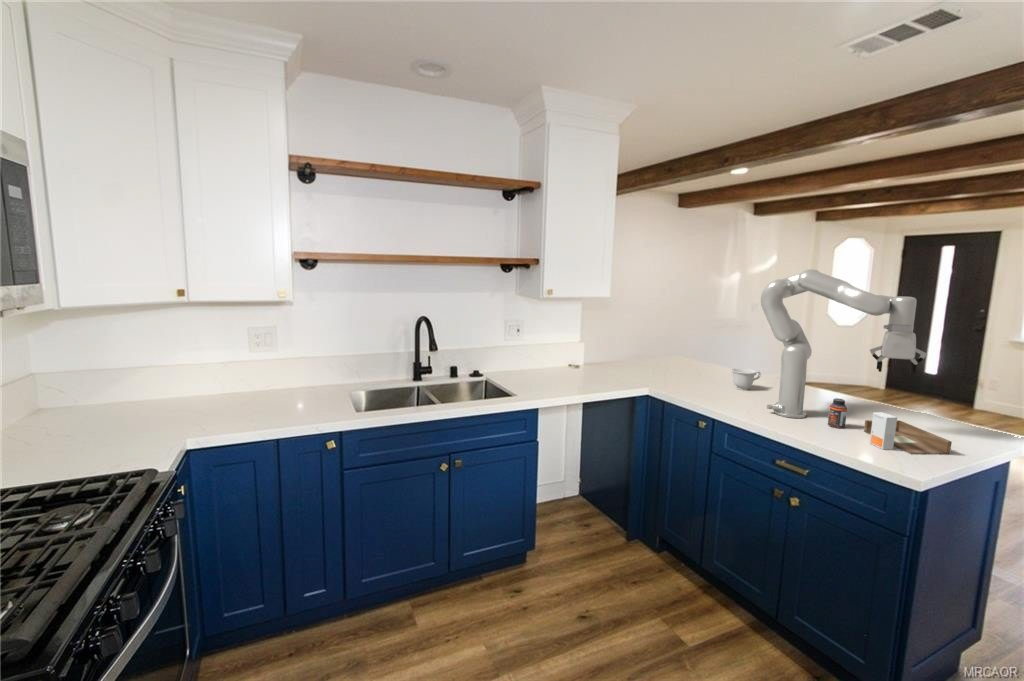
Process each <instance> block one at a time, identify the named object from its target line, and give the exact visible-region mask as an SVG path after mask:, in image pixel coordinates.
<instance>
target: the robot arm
mask: <svg viewBox="0 0 1024 681" xmlns="http://www.w3.org/2000/svg"><path fill="white" fill-rule="evenodd" d="M807 292H810V293H813V294H816V295H818V296H821V297H824V298H825V299H828V300H832V301H834V302H836V303H838V304H842V305H845V306H847V307H850V308H852V309H855V310H856V311H859V312H863V313H865V314H867V315H870V316H876V317H879V316H882V315H885V314H886V315H888V314H889V316H888V317H889V319H888V324H884V325H883V326H882V327H883V329H886V331H885V333H884V335H883V337H882V342H881V345H879V346H876V347H873V348H870V349H869V352H870V354H871V356H872V357H873V358H874V359H875V360H876V370H878V372H879V373H881V372H882V369H883V360H884V359H885V358H887V359H897V360H898V359H899V360H909V361H910V362H911V363H910V366H909V375H914V373H916V371H917V370H916V369H917V365H918V364H920V363H921V362H922V361H924V359H925V358H926V357H927V356H928V353H927V352H925V351H922V350H920V349H918V348H917V336H916V333H915V332H914V328H915V325H914V324H915V318H916V309H917V298H915V297H914V296H913V297H912V296H903V295H902V296H891V295H890V296H889V295H883V294H882V295H881V294H879V295H878V294H874V293H872V292H869V291H866V290H863V289H860V288H858V287H856V286H854V285H852V284H851V283H850V282H848V281H846V280H842V279H840V278H837V277H834V276H831V275H828V274H826V273H822V272H821V271H819V270H817V269H806V270H803V271H802V272H800V273H797V274H794V275H792V276H788V277H784V278H780V279H775V280H773V281H771V282H770V283H768V284H767V285H766V286H765V287H764V289H763V291H762V292H761V296H760V306H761V308H762V310H763V313H764V315H765V317H766V320H767V323H768V326H769V327H770V329H771V331H772V334H773V336H774V338H775V339H777V341H779V342H782V344H783V346H784V348H783V350H782V352H781V358H780V361H781V363H780V366H781V368H780V380H779V381H780V382H779V391H778V392H779V393H778V401H775V403H774V404H767V405H766V409H767V410H772V411H773V413H774V414H775V415H778V416H781V417H784V418H791V419H792V418H793V419H802V418H806V417H807V412H805V411H804V401H805V393H806V392H805V390H806V380H807V365H808V364H807V363H808V360H809V359H810V358H811V356H812V352H813V350H812V347H811V344H810V342H809V340H808V338H807V336H806V335H805V332H804V330H803V328H802V326H801V324H800V323H799V322H798V321H797V320H795V319H792V318H791V316H790V314H789V312H788V310H787V309H788V308H787V307H786V306H785V304H784V301H783V300H784V299H787V298H790V297H793V296H795V295H796V296H797V295H800V294H802V293H807ZM878 351H880V355H879V356H878V355H877V354H876V352H878ZM916 353H917V354H919V355H920V356H919V357H918V358H915V357H916Z"/></svg>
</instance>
